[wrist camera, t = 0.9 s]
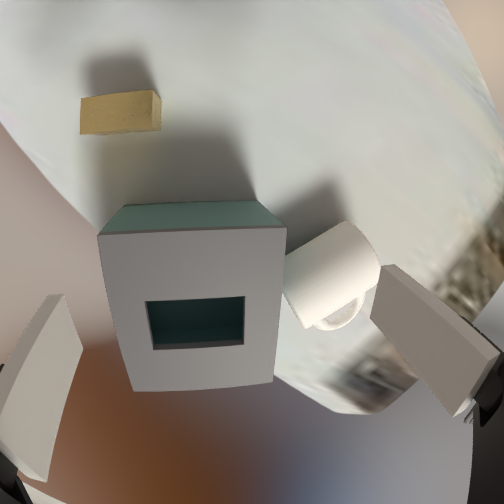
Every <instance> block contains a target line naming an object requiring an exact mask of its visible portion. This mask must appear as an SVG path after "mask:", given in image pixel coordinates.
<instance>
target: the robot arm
mask: <svg viewBox="0 0 504 504" xmlns="http://www.w3.org/2000/svg"><path fill="white" fill-rule="evenodd" d="M370 319H371V320H372V321H373V322H374V324H375V325H376V326H377V327H378V328H379V329H380V330H381V332H382V333H383V334H384V335H385V336H386V337H387V339H388V340H389V341H390V342H391V343H392V344H393V346H394V347H395V348H396V349H397V350H398V351H399V353H400V354H401V355H402V356H403V357H404V359H405V360H406V361H407V362H408V363H409V364H410V366H411V367H412V368H413V369H414V371H415V372H416V373H417V374H418V375H419V377H420V378H421V379H422V380H423V381H424V383H425V384H426V385H427V386H428V388H429V389H430V390H431V391H432V393H433V394H434V395H435V396H436V398H437V399H438V400H439V401H440V403H441V404H442V405H443V406H444V408H445V409H446V410H447V411H448V413H449V414H450V415H451V417H454V416H456V415H457V414H459V413H460V412H462V411H464V410H465V409H466V408H467V406H468V405H469V404H470V402H471V401H472V399H473V398H474V399H475V401H476V404H475V405H474V407H473V408H472V409H471V411H470V412H469V413H468V415H467V416H466V417H465V420H464V423H467V421H468V420H469V419H470V417H471V416H472V415H473V418H472V419H471V421H470V423H469V424H473V455H472V468H471V479H470V487H469V494H468V501H467V504H504V352H502V351H501V350H500V349H499V348H498V347H497V346H496V345H495V344H494V343H493V342H492V341H490V340H489V339H488V338H487V337H486V336H485V335H484V334H482V333H480V331H479V330H478V329H477V328H476V327H473V325H472V324H471V323H470V322H469V321H468V320H467V319H465V318H464V317H462V316H460V315H458V314H456V313H455V312H454V311H453V310H452V309H450V308H449V307H448V306H447V305H446V304H444V303H443V302H442V301H441V300H439V299H438V298H437V297H436V296H435V295H433V294H432V293H431V292H430V291H428V290H427V289H426V288H425V287H423V286H422V285H421V284H420V283H418V282H417V281H416V280H414V279H413V278H412V277H411V276H409V275H408V274H407V273H405V272H404V271H403V270H401V269H400V268H399V267H397V266H396V265H395V264H392V265H384V266H381V269H380V274H379V279H378V284H377V289H376V293H375V298H374V302H373V306H372V311H371V315H370ZM82 351H83V347H82V344H81V342H80V339H79V337H78V334H77V332H76V329H75V326H74V324H73V321H72V318H71V315H70V313H69V310H68V307H67V304H66V301H65V298H64V295H63V294H58V295H48V296H47V297H46V299H45V300H44V302H43V303H42V305H41V306H40V308H39V309H38V311H37V312H36V314H35V315H34V317H33V318H32V320H31V321H30V323H29V324H28V326H27V328H26V329H25V331H24V332H23V334H22V335H21V337H20V339H19V340H18V342H17V344H16V346H15V347H14V349H13V351H12V353H11V354H10V356H9V358H8V359H7V361H6V363H5V364H1V366H0V504H33V503H32V501H31V499H30V497H29V495H28V493H27V491H26V489H25V487H24V485H23V483H22V481H21V480H20V478H19V477H18V476H17V470H18V469H19V470H20V471H21V472H22V473H24V474H25V475H26V476H27V477H29V478H32V479H36V480H40V481H43V482H47V478H48V472H49V467H50V462H51V456H52V452H53V447H54V443H55V439H56V435H57V431H58V427H59V423H60V419H61V416H62V412H63V408H64V405H65V402H66V398H67V395H68V392H69V388H70V386H71V382H72V379H73V376H74V373H75V370H76V367H77V365H78V362H79V359H80V356H81V353H82Z"/></svg>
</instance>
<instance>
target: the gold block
mask: <svg viewBox="0 0 504 504" xmlns="http://www.w3.org/2000/svg"><path fill="white" fill-rule="evenodd" d="M161 105H162V101H161V100H160V99H159V97H158V96H157V94H156V93H155V92H154V90H142V91H132V92H122V93H114V94H106V95H99V96H93V97H87V98H81V110H80V135H109V134H118V133H129V132H140V131H155V130H161Z"/></svg>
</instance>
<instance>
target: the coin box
mask: <svg viewBox="0 0 504 504" xmlns="http://www.w3.org/2000/svg"><path fill="white" fill-rule="evenodd" d="M286 236H287V227H286V226H285V225H283V224H282V223H281V222H280V221H279V220H278V219H277V218H276V217H275V216H274V215H273V214H272V213H271V212H269V211H268V210H267V209H266V208H265V207H264V206H263V205H262V204H261V203H260V202H259V201H203V202H176V203H154V204H137V205H124V206H123V208H122V209H121V210H120V211H119V212H118V213H117V214H116V215H115V216H114V217H113V218H112V219H111V220H110V222H109V223H108V224H107V225H106V226H105V227H104V228H103V229H102V230H101V232H100V233H99V234H98V235H97V239H98V246H99V253H100V259H101V264H102V271H103V277H104V282H105V287H106V292H107V297H108V301H109V306H110V310H111V314H112V319H113V323H114V327H115V331H116V335H117V338H118V342H119V346H120V349H121V353H122V356H123V359H124V363H125V366H126V369H127V372H128V375H129V379H130V382H131V385H132V388H133V391H183V390H201V389H213V388H226V387H236V386H245V385H254V384H261V383H269V382H272V381H273V373H274V365H275V356H276V346H277V337H278V327H279V317H280V307H281V296H282V285H283V274H284V262H285V249H286Z"/></svg>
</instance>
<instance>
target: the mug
mask: <svg viewBox="0 0 504 504" xmlns="http://www.w3.org/2000/svg"><path fill="white" fill-rule="evenodd" d="M380 269H381V266H380V263H379V260H378V258H377V255H376V253H375V251H374V249H373V248H372V246H371V244H370V243H369V241H368V240H367V238H366V237H365V236H364V234H363V233H362V232H361V231H360V230H359V229H358V228H357V227H356V226H355V225H353V224H352V223H350V222H348V221H342V222H341V223H339V224H337V225H336V226H334V227H332V228H331V229H329V230H327V231H326V232H324V233H322V234H321V235H319V236H318V237H316V238H314V239H313V240H311V241H309V242H308V243H306V244H304V245H303V246H301V247H299V248H297V249H296V250H294V251H292V252H291V253H289V254H287V255H286V256H285V262H284V274H283V285H282V293H283V294H284V296H285V298H286V300H287V301H288V303H289V305H290V306H291V308H292V310H293V311H294V313H295V315H296V317H297V318H298V320H299V322H300V323H301V325H302V327H303V328H304V329H307V328H308V327H310V326H312V325H314V326H315V327H316V328H318V329H321V330H326V331H328V330H335V329H338V328H340V327H342V326H344V325H346V324H347V323H348V322H350V321H351V320H352V319H353V318H354V316H355V315H356V314H357V313H358V311H359V310H360V308H361V306H362V304H363V302H364V299H365V294H366V291H367V290H368V289H370V288H371V287H373V286H374V285H376V284H377V283H378V279H379V274H380ZM353 299H354V303H353V305H352V306H351V307H350V309H349V310H347V311H346V312H345V313H344V314H343V315H341V316H340V317H338V318H337V319H335V320H332V321H327V320H325V319H324V318H325V317H327V316H328V315H330V314H331V313H333V312H335V311H336V310H338V309H339V308H341V307H343V306H344V305H346V304H347V303H349V302H350V301H352V300H353Z"/></svg>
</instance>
